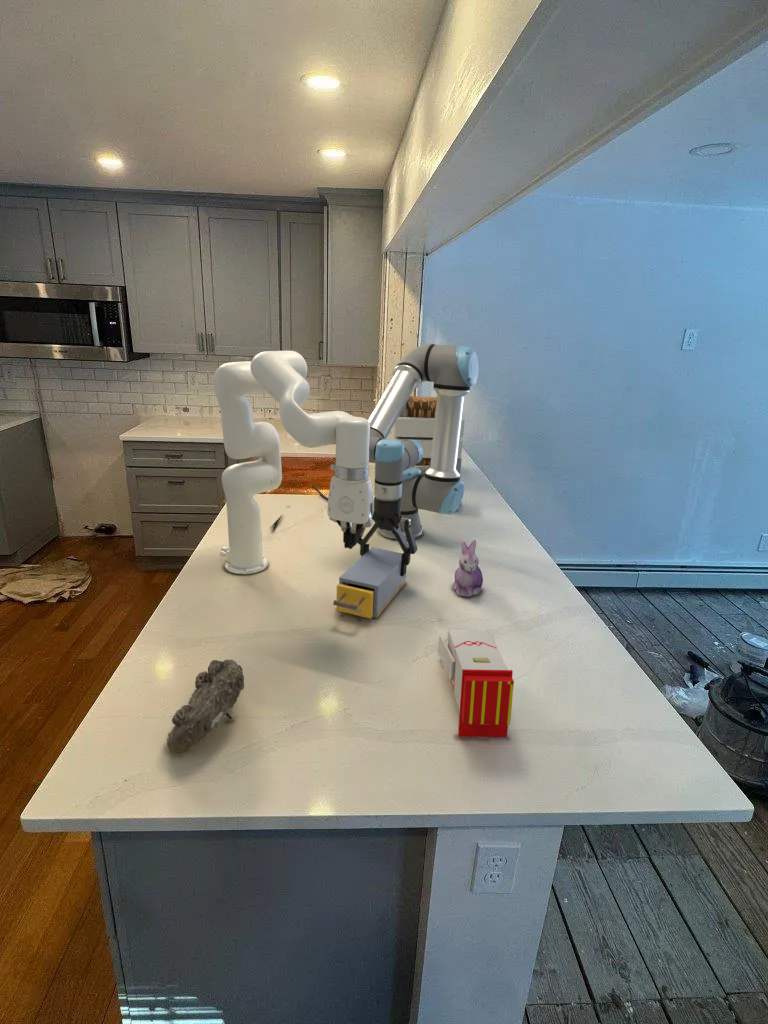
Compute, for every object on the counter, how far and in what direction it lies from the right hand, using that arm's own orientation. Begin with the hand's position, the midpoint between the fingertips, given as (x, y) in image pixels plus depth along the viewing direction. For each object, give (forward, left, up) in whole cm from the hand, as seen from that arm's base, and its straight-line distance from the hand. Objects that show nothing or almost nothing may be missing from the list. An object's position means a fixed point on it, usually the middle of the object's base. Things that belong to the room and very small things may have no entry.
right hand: (384, 570), depth 162 cm
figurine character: (-36, +67, -4) cm, 76 cm away
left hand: (+11, -21, +17) cm, 29 cm away
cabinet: (+3, -7, -4) cm, 9 cm away
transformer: (-79, +91, -4) cm, 120 cm away
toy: (+48, -17, -4) cm, 51 cm away
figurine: (+17, +17, -4) cm, 24 cm away
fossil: (+23, -62, -4) cm, 67 cm away
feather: (-62, +3, -4) cm, 62 cm away
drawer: (+6, -12, -3) cm, 14 cm away
